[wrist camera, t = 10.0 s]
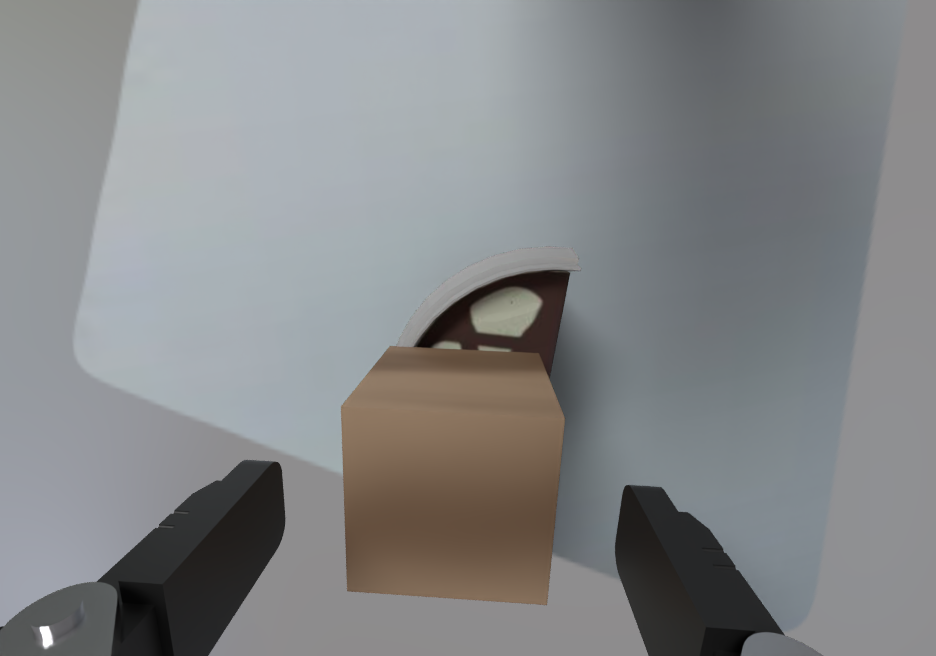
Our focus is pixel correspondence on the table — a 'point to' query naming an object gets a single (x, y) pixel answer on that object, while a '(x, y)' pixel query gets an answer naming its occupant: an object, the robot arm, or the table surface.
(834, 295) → the table surface
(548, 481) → the walnut cube
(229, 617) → the robot arm
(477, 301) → the food container
